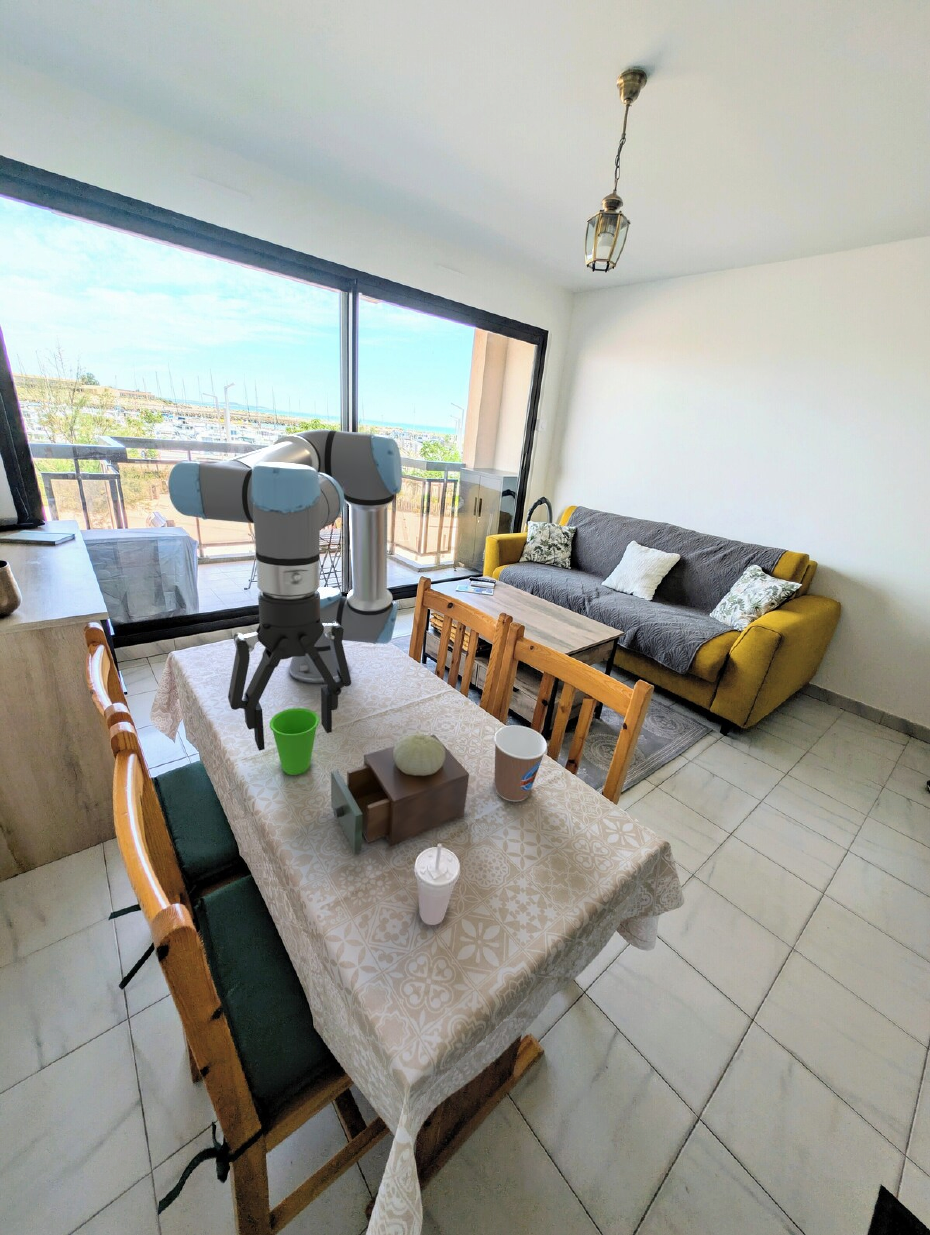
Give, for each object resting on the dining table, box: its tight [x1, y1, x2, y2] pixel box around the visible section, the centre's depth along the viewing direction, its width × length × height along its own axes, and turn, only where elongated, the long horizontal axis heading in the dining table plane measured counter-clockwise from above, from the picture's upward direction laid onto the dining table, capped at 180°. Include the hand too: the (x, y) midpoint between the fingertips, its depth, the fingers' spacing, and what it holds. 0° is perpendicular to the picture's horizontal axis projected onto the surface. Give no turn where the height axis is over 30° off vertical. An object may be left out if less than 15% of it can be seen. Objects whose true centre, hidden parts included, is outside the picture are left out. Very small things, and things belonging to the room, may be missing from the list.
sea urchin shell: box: [393, 732, 445, 776], centre depth 84 cm, size 9×8×8 cm
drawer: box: [330, 765, 391, 854], centre depth 82 cm, size 15×12×8 cm
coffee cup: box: [493, 724, 548, 803], centre depth 93 cm, size 10×10×12 cm
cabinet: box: [362, 734, 470, 847], centre depth 86 cm, size 15×13×10 cm
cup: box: [269, 707, 320, 776], centre depth 93 cm, size 9×9×11 cm
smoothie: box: [414, 843, 461, 926], centre depth 67 cm, size 6×6×14 cm
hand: (294, 735), depth 69 cm, fingers open, 9 cm apart
